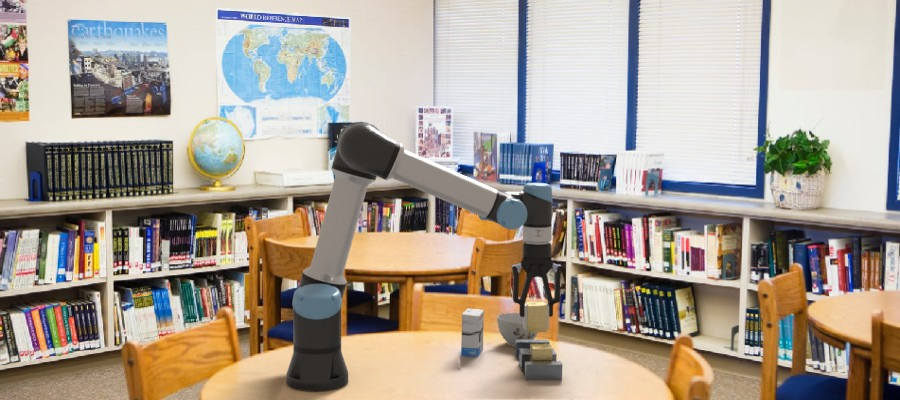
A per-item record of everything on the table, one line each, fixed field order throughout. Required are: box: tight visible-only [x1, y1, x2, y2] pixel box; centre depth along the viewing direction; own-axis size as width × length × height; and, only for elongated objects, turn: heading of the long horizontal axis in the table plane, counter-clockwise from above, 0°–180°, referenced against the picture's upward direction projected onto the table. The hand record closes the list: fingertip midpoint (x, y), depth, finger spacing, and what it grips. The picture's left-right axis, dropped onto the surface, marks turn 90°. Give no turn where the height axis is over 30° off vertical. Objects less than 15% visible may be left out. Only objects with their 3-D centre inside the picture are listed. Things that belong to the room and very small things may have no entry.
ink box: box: [460, 308, 485, 358], centre depth 270 cm, size 8×5×12 cm, turn 168°
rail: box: [514, 339, 563, 381], centre depth 258 cm, size 9×24×4 cm, turn 3°
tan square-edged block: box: [525, 301, 548, 333], centre depth 263 cm, size 5×5×7 cm
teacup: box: [496, 312, 539, 347], centre depth 282 cm, size 15×12×8 cm
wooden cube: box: [530, 343, 554, 361], centre depth 252 cm, size 5×5×7 cm
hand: (535, 328), depth 263 cm, fingers closed on tan square-edged block, 5 cm apart
